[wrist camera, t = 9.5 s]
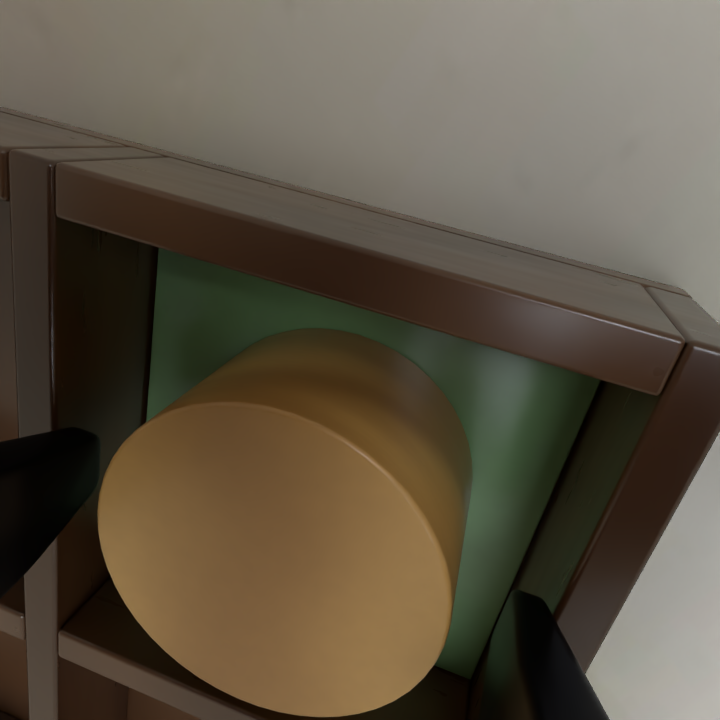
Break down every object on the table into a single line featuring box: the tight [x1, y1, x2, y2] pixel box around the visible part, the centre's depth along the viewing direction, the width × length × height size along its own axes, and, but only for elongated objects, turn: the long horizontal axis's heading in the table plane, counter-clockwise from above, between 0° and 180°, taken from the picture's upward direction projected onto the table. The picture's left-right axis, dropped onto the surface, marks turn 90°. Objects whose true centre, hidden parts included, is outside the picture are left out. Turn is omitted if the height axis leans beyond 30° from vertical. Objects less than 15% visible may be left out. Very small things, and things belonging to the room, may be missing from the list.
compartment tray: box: [0, 107, 720, 720], centre depth 12 cm, size 17×17×3 cm
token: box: [97, 328, 473, 717], centre depth 9 cm, size 5×5×3 cm
